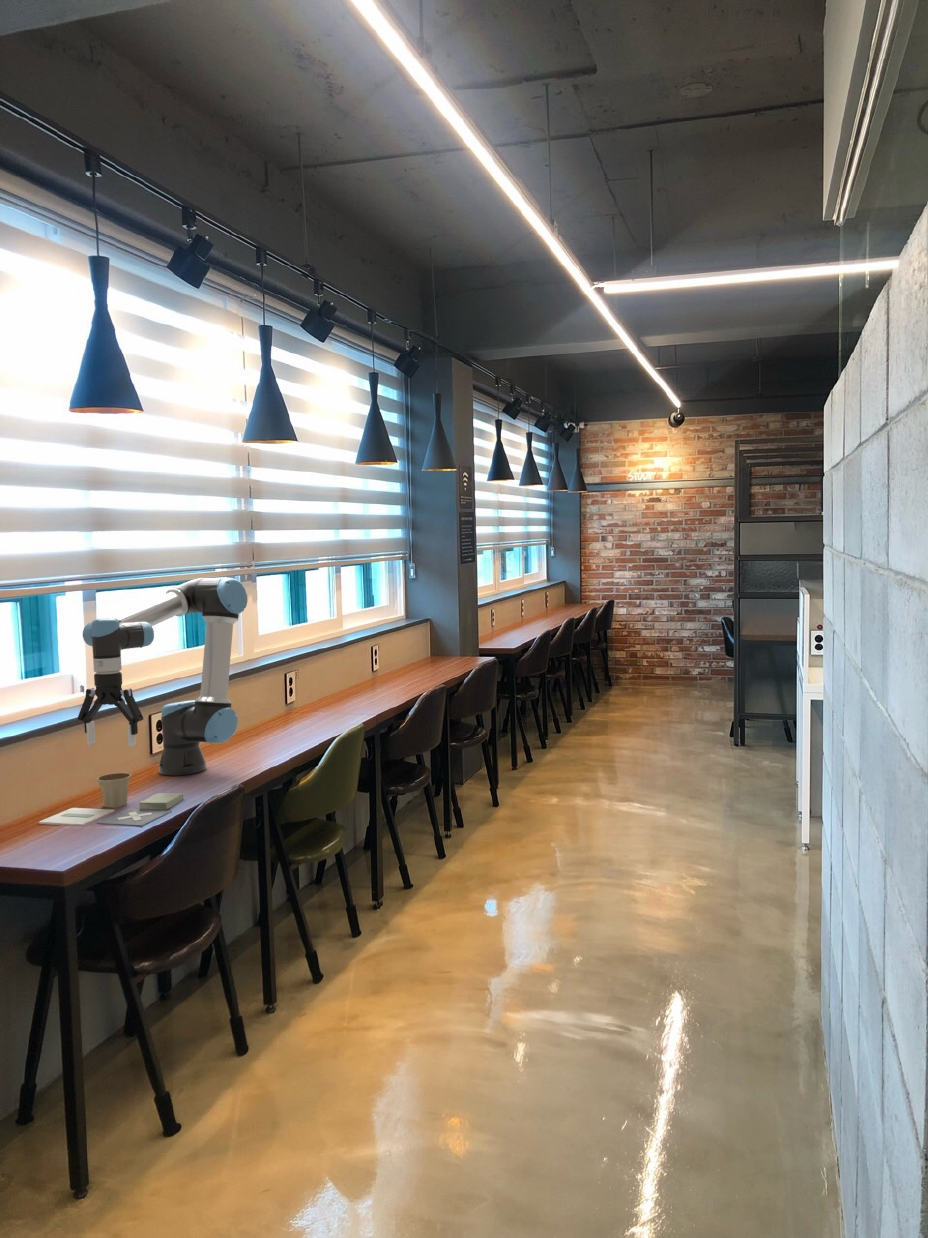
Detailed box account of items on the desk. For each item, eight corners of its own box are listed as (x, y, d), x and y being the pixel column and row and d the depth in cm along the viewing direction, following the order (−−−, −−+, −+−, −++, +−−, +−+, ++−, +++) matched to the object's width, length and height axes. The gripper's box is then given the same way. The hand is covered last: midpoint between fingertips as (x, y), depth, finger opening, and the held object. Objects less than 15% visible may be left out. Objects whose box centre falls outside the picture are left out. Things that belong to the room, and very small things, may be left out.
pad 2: (128, 810, 270) (128, 807, 270) (171, 812, 267) (171, 810, 266) (97, 825, 257) (96, 822, 257) (142, 827, 253) (142, 824, 253)
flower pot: (91, 807, 275) (90, 777, 274) (121, 799, 283) (119, 771, 282) (110, 812, 269) (108, 782, 269) (139, 804, 277) (137, 775, 276)
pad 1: (72, 809, 273) (72, 807, 273) (114, 812, 269) (114, 809, 269) (38, 823, 259) (38, 821, 259) (82, 826, 256) (82, 823, 256)
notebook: (157, 800, 280) (156, 793, 280) (183, 800, 280) (183, 793, 280) (139, 809, 268) (139, 802, 268) (166, 809, 268) (166, 802, 268)
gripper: (62, 673, 272) (66, 746, 274) (137, 674, 266) (141, 749, 267) (79, 670, 280) (83, 741, 281) (153, 670, 273) (157, 743, 275)
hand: (111, 745), depth 274 cm, fingers open, 13 cm apart
